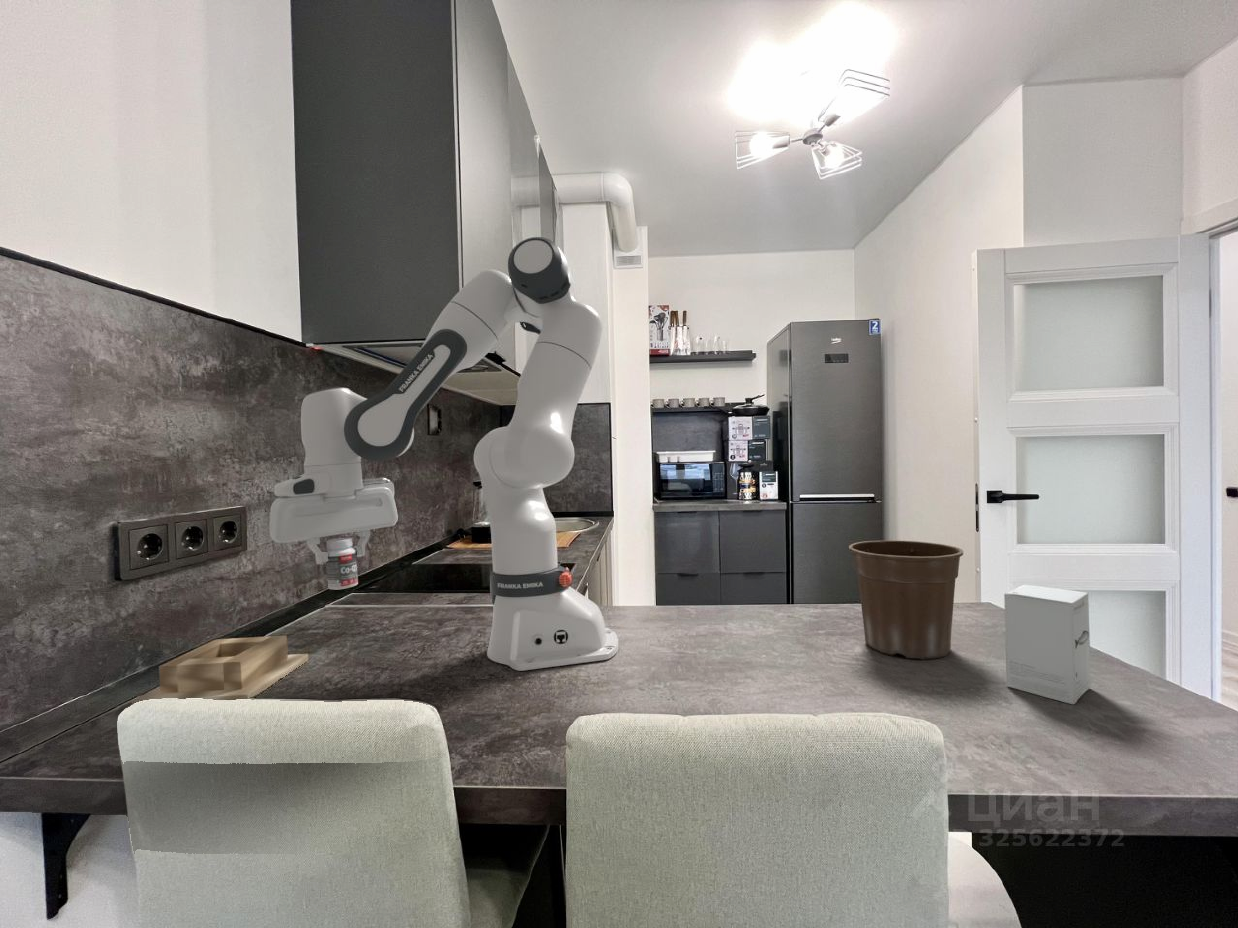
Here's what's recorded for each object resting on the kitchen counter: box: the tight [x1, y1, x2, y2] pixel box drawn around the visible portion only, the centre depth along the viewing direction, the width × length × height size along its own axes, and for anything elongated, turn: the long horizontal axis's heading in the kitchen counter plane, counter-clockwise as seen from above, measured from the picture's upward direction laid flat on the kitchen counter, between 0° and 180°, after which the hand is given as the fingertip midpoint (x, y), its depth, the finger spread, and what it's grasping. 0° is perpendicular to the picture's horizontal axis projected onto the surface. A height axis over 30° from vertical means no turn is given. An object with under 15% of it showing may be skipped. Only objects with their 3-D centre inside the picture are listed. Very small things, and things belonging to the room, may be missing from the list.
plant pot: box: [848, 540, 964, 660], centre depth 87 cm, size 16×16×16 cm
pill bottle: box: [325, 537, 359, 591], centre depth 95 cm, size 5×5×8 cm
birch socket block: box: [131, 635, 309, 705], centre depth 84 cm, size 16×16×5 cm
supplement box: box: [1003, 584, 1092, 705], centre depth 70 cm, size 7×7×13 cm
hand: (341, 559), depth 95 cm, fingers closed on pill bottle, 5 cm apart
